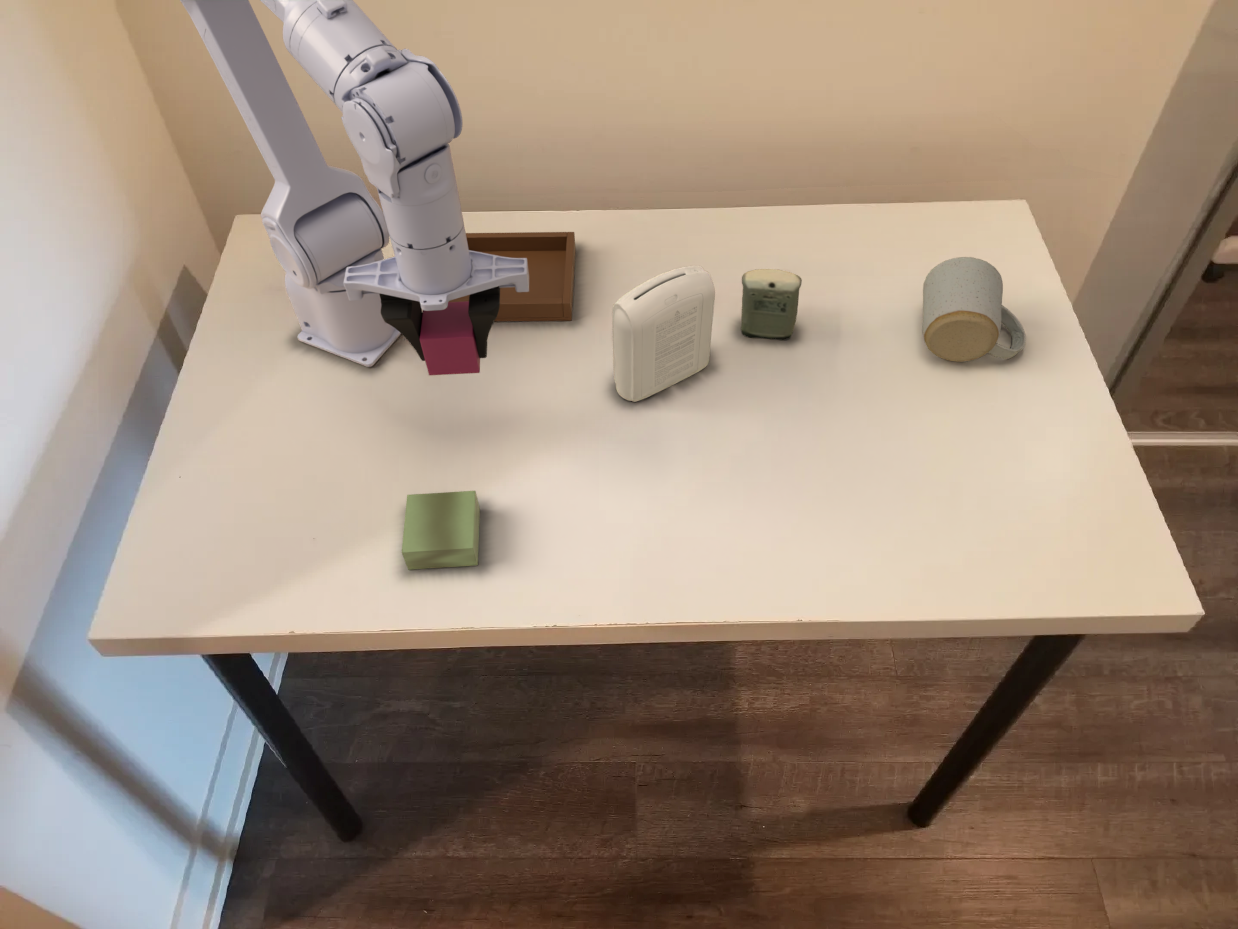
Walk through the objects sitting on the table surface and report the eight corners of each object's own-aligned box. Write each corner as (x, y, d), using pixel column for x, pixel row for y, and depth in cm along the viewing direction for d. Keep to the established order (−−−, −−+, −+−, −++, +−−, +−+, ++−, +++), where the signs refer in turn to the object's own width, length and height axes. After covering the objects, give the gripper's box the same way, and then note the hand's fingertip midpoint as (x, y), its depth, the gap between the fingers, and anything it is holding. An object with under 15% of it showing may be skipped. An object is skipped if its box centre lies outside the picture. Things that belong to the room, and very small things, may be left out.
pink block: (428, 375, 81) (419, 339, 77) (432, 339, 83) (423, 303, 80) (479, 373, 81) (472, 336, 77) (481, 337, 83) (474, 300, 80)
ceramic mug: (914, 362, 94) (934, 305, 88) (914, 306, 99) (934, 249, 92) (1022, 377, 92) (1051, 320, 86) (1018, 320, 97) (1044, 263, 91)
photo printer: (690, 341, 96) (695, 246, 86) (715, 366, 94) (724, 271, 84) (607, 383, 93) (602, 289, 83) (631, 410, 91) (629, 316, 81)
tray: (434, 322, 99) (429, 304, 97) (447, 250, 106) (443, 232, 104) (571, 320, 98) (570, 303, 96) (575, 249, 106) (574, 231, 104)
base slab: (408, 570, 80) (401, 552, 78) (413, 512, 84) (406, 494, 82) (477, 565, 80) (473, 548, 78) (479, 508, 84) (475, 490, 82)
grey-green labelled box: (751, 357, 95) (759, 298, 88) (727, 324, 98) (733, 265, 91) (800, 340, 96) (811, 280, 90) (774, 308, 99) (783, 248, 93)
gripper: (322, 264, 68) (366, 389, 79) (520, 255, 69) (537, 380, 79) (335, 204, 73) (374, 330, 83) (521, 195, 73) (536, 322, 84)
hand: (454, 351), depth 82 cm, fingers closed on pink block, 4 cm apart
